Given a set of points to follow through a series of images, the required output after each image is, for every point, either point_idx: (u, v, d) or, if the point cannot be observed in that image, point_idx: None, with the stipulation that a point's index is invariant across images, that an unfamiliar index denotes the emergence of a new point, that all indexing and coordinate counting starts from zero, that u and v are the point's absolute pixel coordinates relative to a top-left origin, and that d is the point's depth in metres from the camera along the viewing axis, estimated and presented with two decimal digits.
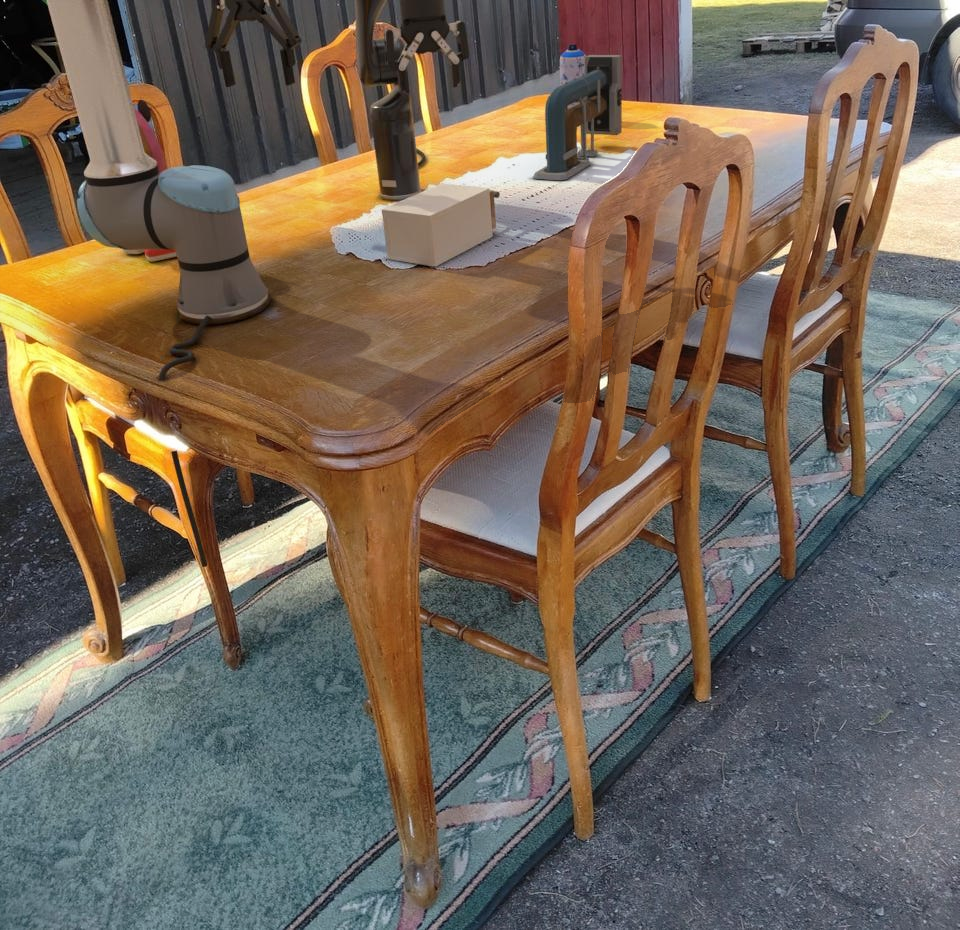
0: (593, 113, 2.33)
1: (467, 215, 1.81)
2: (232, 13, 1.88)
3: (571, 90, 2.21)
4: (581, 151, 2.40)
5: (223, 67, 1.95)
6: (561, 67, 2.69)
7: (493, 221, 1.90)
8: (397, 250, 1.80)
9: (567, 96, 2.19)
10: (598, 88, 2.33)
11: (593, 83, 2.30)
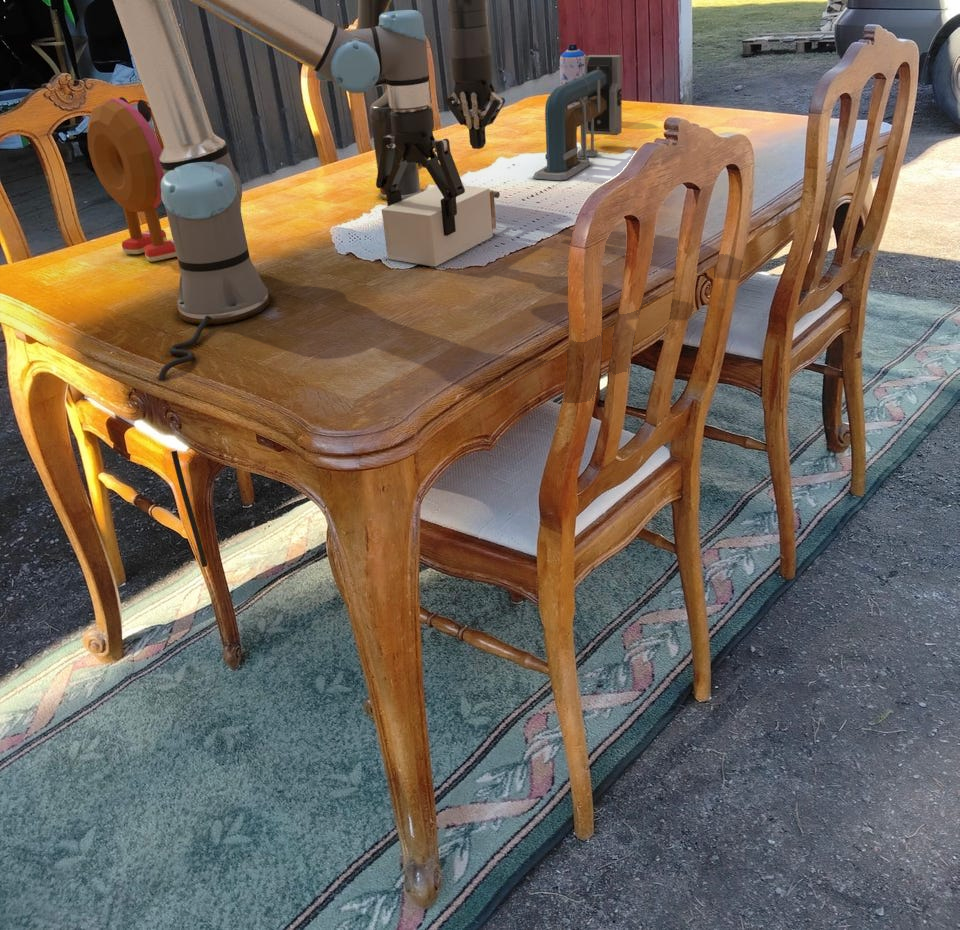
0: (593, 113, 2.33)
1: (467, 215, 1.81)
2: (400, 154, 1.73)
3: (571, 90, 2.21)
4: (581, 151, 2.40)
5: None
6: (561, 67, 2.69)
7: (493, 221, 1.90)
8: (397, 250, 1.80)
9: (567, 96, 2.19)
10: (598, 88, 2.33)
11: (593, 83, 2.30)
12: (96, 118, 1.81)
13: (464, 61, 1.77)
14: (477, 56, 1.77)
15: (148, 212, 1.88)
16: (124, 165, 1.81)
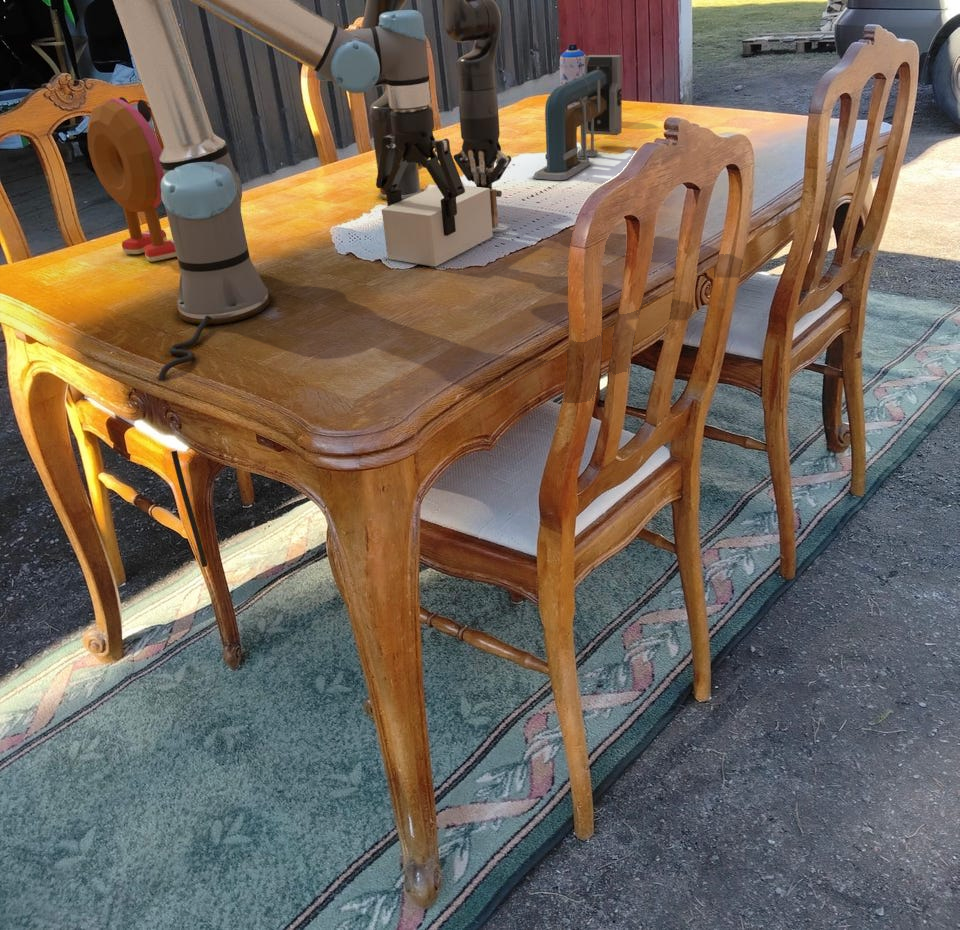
0: (593, 113, 2.33)
1: (467, 215, 1.81)
2: (400, 154, 1.73)
3: (571, 90, 2.21)
4: (581, 151, 2.40)
5: None
6: (561, 67, 2.69)
7: (495, 220, 1.90)
8: (397, 250, 1.80)
9: (567, 96, 2.19)
10: (598, 88, 2.33)
11: (593, 83, 2.30)
12: (96, 118, 1.81)
13: (472, 122, 1.84)
14: (484, 117, 1.83)
15: (148, 212, 1.88)
16: (124, 165, 1.81)
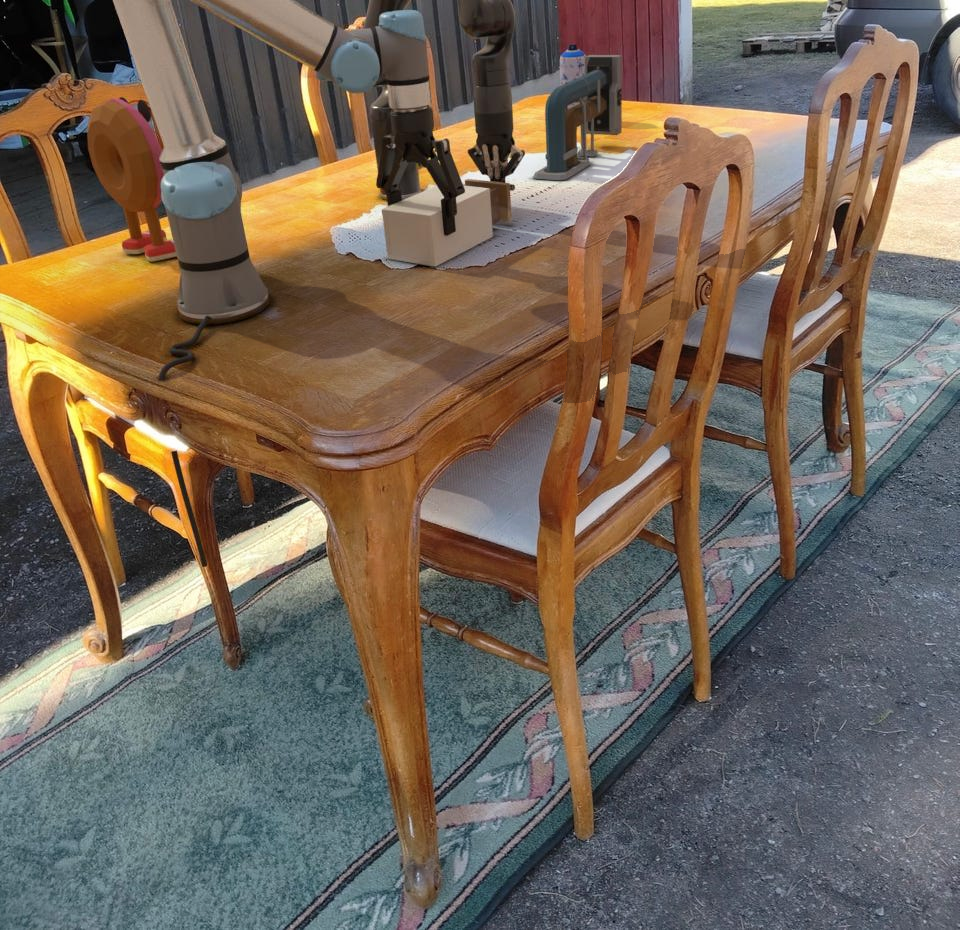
0: (593, 113, 2.33)
1: (467, 215, 1.81)
2: (400, 154, 1.73)
3: (571, 90, 2.21)
4: (581, 151, 2.40)
5: None
6: (561, 67, 2.69)
7: (509, 213, 1.94)
8: (397, 250, 1.80)
9: (567, 96, 2.19)
10: (598, 88, 2.33)
11: (593, 83, 2.30)
12: (96, 118, 1.81)
13: (487, 116, 1.87)
14: (499, 112, 1.86)
15: (148, 212, 1.88)
16: (124, 165, 1.81)
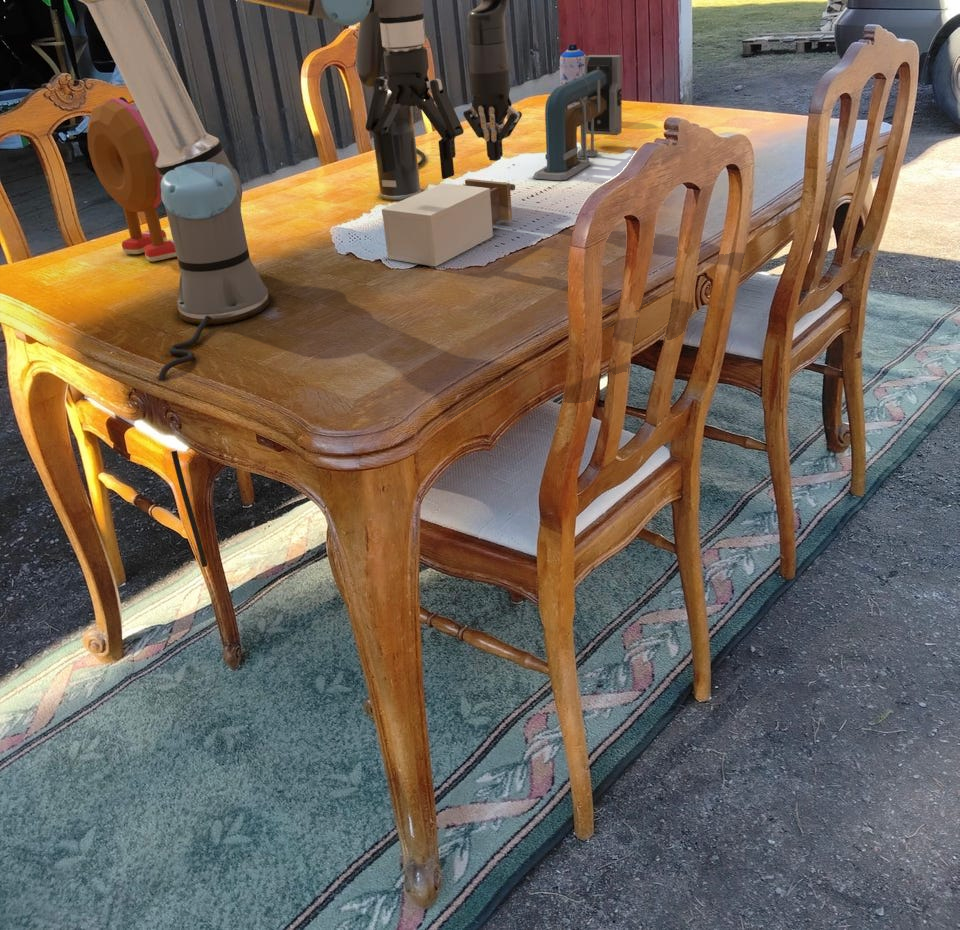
0: (593, 113, 2.33)
1: (467, 215, 1.81)
2: (393, 96, 1.68)
3: (571, 90, 2.21)
4: (581, 151, 2.40)
5: (381, 151, 1.76)
6: (561, 67, 2.69)
7: (509, 213, 1.94)
8: (397, 250, 1.80)
9: (567, 96, 2.19)
10: (598, 88, 2.33)
11: (593, 83, 2.30)
12: (96, 118, 1.81)
13: (483, 76, 1.83)
14: (495, 71, 1.82)
15: (148, 212, 1.88)
16: (124, 165, 1.81)
